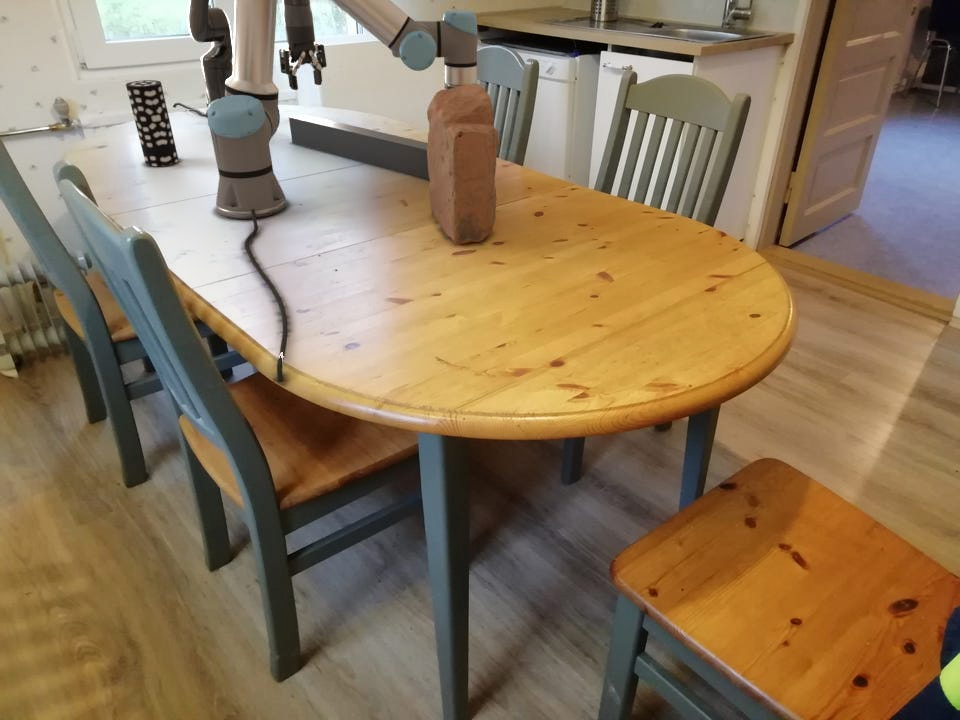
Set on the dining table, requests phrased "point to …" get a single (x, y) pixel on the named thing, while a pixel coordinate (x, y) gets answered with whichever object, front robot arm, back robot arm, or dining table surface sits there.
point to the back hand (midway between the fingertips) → (306, 87)
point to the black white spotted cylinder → (152, 122)
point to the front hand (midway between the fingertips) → (461, 181)
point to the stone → (462, 162)
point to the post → (361, 144)
